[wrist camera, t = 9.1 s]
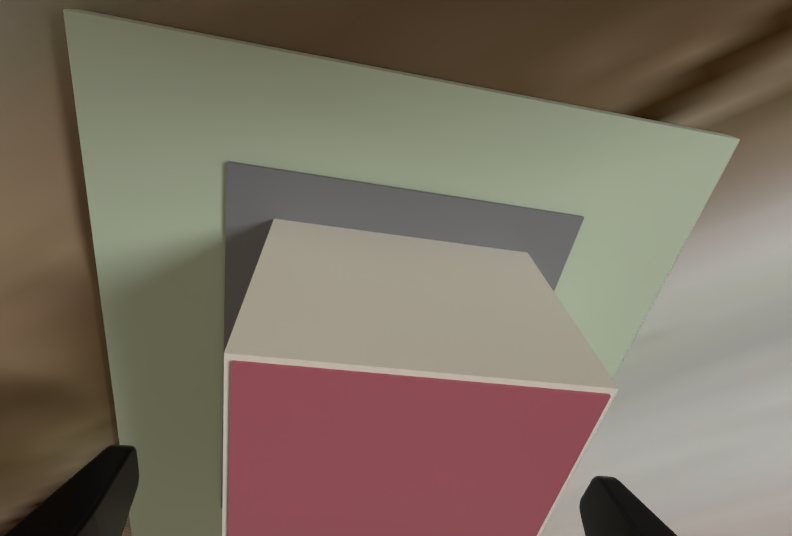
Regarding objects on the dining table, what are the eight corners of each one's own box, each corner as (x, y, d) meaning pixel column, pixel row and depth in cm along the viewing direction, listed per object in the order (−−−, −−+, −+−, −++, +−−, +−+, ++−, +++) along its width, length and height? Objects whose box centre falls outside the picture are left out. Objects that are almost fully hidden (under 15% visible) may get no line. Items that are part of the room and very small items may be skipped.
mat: (726, 134, 10) (743, 141, 9) (514, 545, 16) (518, 560, 16) (75, 8, 8) (59, 9, 7) (137, 530, 14) (131, 546, 14)
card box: (441, 495, 14) (470, 665, 10) (257, 486, 13) (220, 667, 9) (527, 252, 10) (620, 391, 6) (273, 218, 9) (222, 355, 6)
